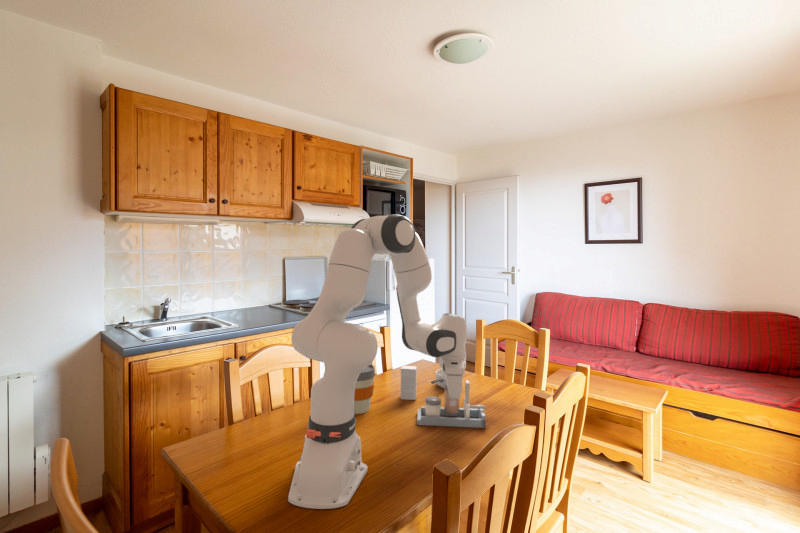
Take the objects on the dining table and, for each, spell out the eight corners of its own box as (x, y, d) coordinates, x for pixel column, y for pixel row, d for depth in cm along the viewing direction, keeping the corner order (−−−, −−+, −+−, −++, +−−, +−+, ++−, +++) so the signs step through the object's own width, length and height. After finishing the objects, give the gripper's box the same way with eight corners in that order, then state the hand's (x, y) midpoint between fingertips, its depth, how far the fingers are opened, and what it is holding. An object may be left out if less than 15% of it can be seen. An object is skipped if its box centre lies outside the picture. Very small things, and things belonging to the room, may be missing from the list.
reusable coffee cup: (357, 419, 129) (358, 375, 128) (332, 409, 136) (332, 368, 135) (381, 407, 139) (382, 366, 138) (356, 398, 146) (357, 360, 145)
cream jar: (441, 423, 127) (441, 402, 127) (424, 422, 127) (425, 402, 127) (440, 416, 132) (440, 396, 132) (424, 415, 133) (425, 395, 132)
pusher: (487, 425, 126) (488, 385, 125) (465, 423, 126) (466, 384, 126) (484, 417, 132) (485, 379, 131) (463, 416, 132) (464, 378, 131)
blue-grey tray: (485, 427, 124) (485, 415, 124) (417, 424, 126) (417, 412, 125) (481, 416, 133) (481, 404, 133) (417, 413, 135) (417, 401, 134)
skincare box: (416, 396, 150) (417, 366, 150) (415, 400, 146) (416, 369, 145) (401, 395, 151) (401, 365, 150) (400, 399, 146) (400, 368, 146)
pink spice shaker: (460, 414, 127) (460, 389, 126) (444, 413, 127) (444, 389, 127) (458, 407, 132) (459, 383, 131) (443, 406, 132) (444, 383, 132)
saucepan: (419, 392, 154) (419, 378, 154) (442, 379, 171) (443, 366, 170) (444, 399, 148) (445, 385, 147) (466, 384, 164) (466, 371, 164)
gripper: (441, 352, 139) (441, 389, 140) (445, 370, 119) (444, 414, 119) (459, 353, 139) (458, 390, 139) (465, 371, 118) (464, 414, 119)
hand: (451, 401), depth 129 cm, fingers closed on pink spice shaker, 5 cm apart
